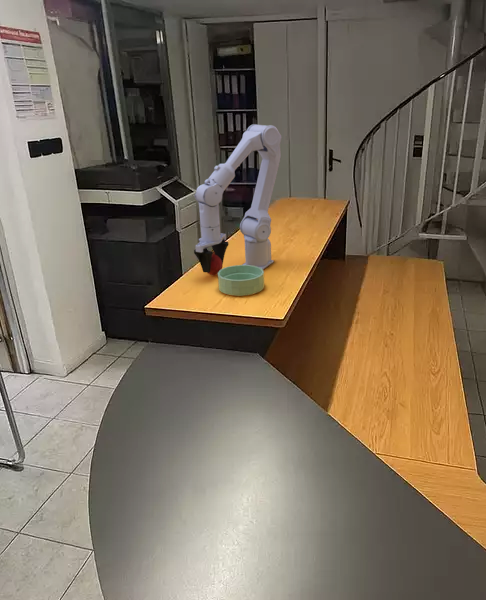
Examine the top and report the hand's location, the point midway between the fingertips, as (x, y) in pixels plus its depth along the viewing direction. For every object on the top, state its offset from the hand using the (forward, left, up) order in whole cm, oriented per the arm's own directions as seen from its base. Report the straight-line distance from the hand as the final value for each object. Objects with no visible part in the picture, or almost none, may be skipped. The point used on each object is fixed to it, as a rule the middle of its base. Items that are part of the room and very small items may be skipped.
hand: (213, 268), depth 150 cm
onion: (0, 0, -3) cm, 3 cm away
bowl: (+6, +13, -3) cm, 15 cm away
